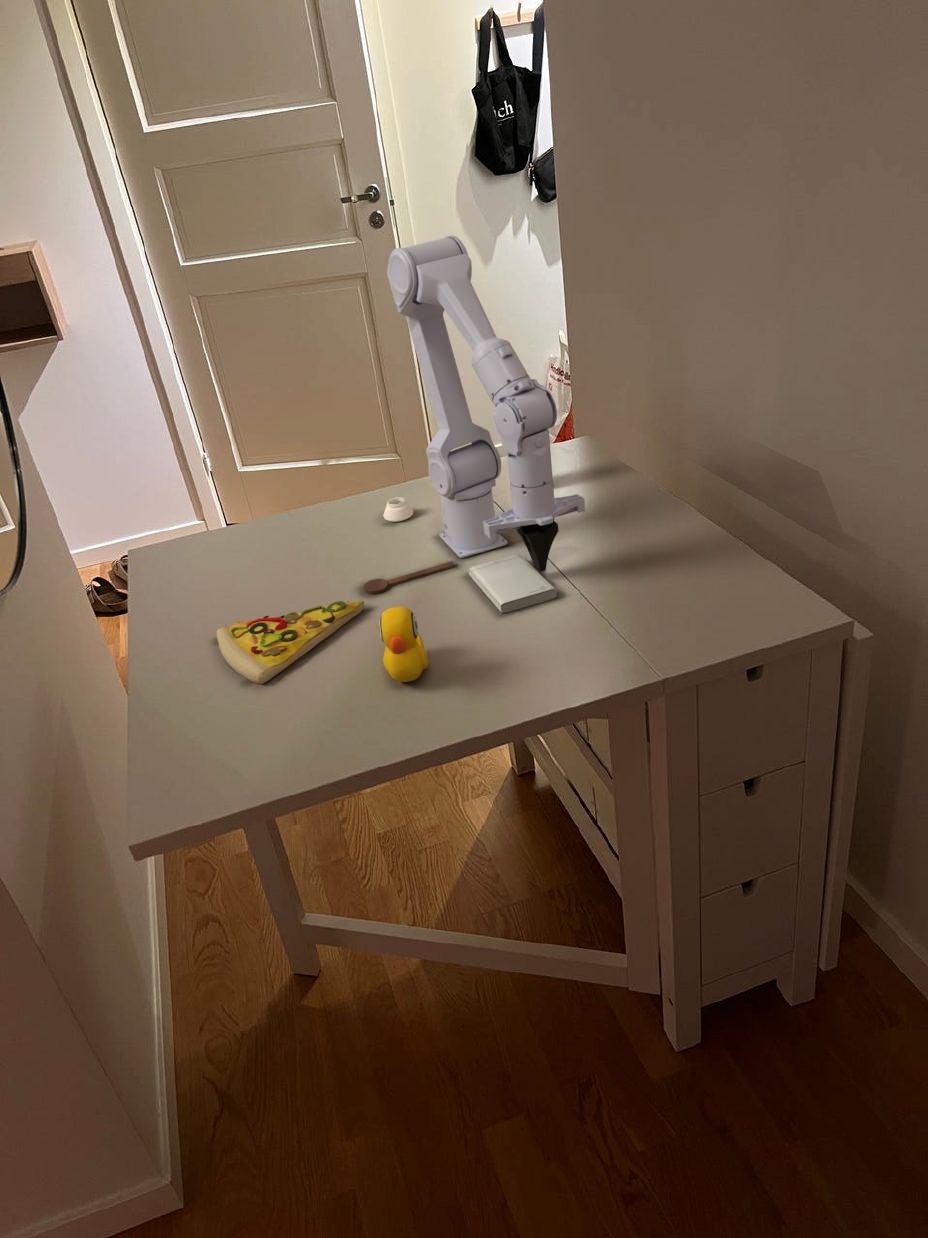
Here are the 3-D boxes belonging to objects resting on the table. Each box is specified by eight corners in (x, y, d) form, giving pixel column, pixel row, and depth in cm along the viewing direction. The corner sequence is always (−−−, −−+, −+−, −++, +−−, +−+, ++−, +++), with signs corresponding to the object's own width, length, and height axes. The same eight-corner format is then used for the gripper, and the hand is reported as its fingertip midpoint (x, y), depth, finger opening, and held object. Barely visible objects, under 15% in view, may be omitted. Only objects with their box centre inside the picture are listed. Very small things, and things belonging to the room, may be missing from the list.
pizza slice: (208, 643, 124) (202, 625, 123) (341, 589, 133) (337, 571, 131) (250, 692, 113) (244, 672, 111) (392, 629, 121) (388, 610, 120)
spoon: (449, 560, 137) (449, 556, 136) (458, 569, 134) (457, 566, 133) (361, 586, 133) (360, 583, 133) (368, 596, 130) (367, 593, 130)
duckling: (430, 700, 106) (417, 629, 101) (384, 706, 107) (369, 634, 101) (430, 648, 116) (418, 581, 111) (389, 653, 116) (375, 586, 111)
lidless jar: (419, 514, 152) (401, 508, 156) (416, 498, 151) (398, 492, 154) (396, 525, 150) (378, 518, 153) (393, 509, 148) (375, 502, 152)
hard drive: (556, 587, 122) (519, 552, 132) (500, 604, 120) (467, 566, 131) (556, 598, 123) (520, 561, 133) (501, 614, 121) (469, 576, 131)
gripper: (494, 503, 116) (504, 595, 123) (593, 475, 119) (598, 565, 126) (473, 486, 121) (484, 574, 128) (568, 459, 125) (574, 546, 132)
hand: (539, 568), depth 128 cm, fingers closed
